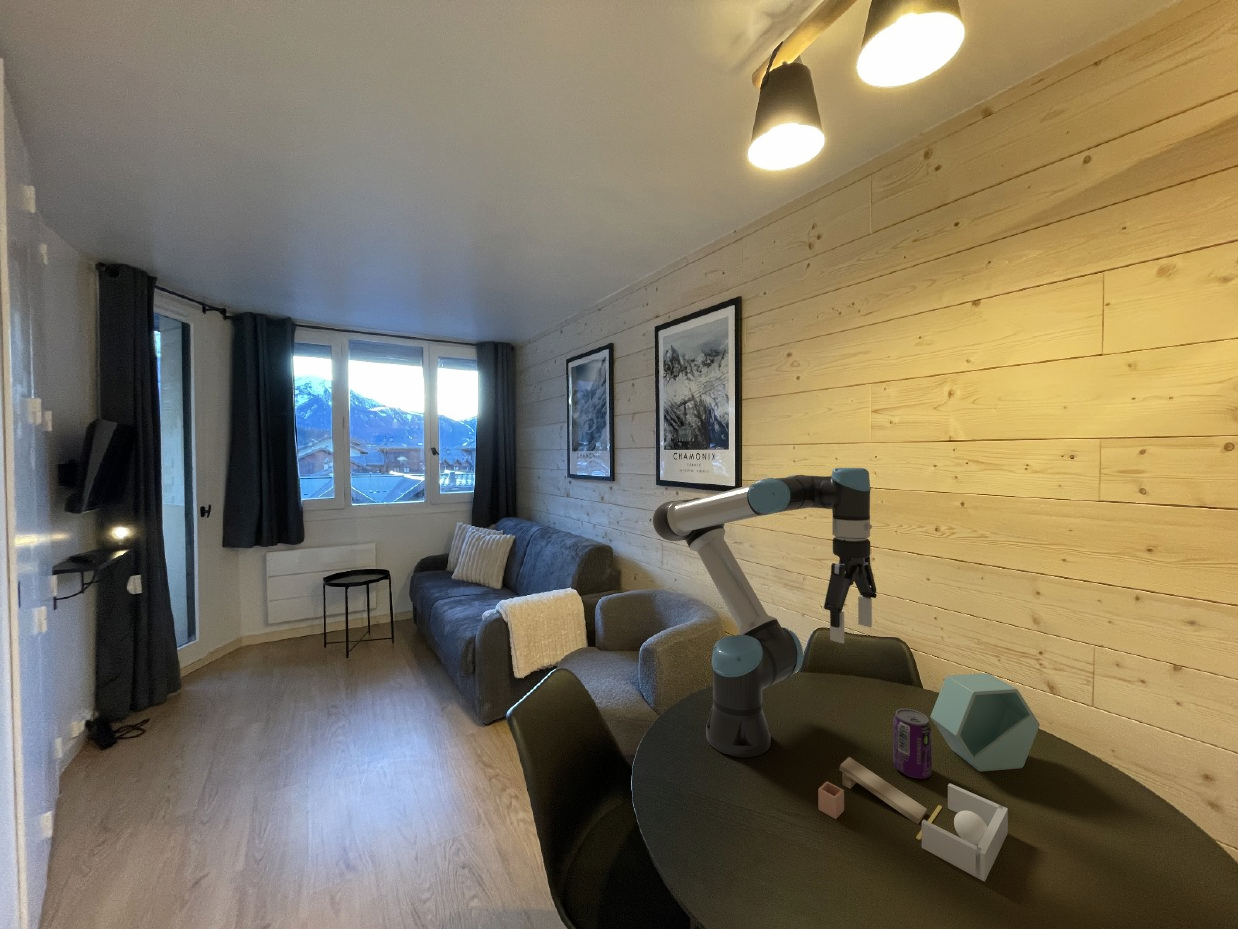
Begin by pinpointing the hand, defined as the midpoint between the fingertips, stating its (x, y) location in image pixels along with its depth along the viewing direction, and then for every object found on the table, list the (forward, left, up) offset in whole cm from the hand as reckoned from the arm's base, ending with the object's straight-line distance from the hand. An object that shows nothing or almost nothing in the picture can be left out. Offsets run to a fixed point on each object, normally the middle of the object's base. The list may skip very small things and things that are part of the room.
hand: (851, 633), depth 108 cm
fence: (+23, -8, -29) cm, 38 cm away
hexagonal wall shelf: (+19, +22, -29) cm, 41 cm away
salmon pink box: (+4, -18, -29) cm, 34 cm away
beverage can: (+10, +6, -29) cm, 31 cm away
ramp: (+9, -8, -29) cm, 31 cm away
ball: (+24, -7, -26) cm, 36 cm away
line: (+17, -8, -29) cm, 34 cm away
